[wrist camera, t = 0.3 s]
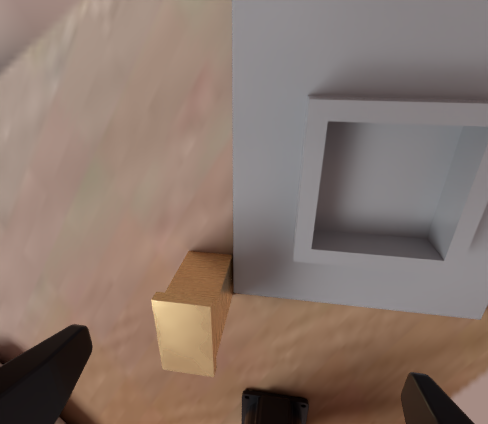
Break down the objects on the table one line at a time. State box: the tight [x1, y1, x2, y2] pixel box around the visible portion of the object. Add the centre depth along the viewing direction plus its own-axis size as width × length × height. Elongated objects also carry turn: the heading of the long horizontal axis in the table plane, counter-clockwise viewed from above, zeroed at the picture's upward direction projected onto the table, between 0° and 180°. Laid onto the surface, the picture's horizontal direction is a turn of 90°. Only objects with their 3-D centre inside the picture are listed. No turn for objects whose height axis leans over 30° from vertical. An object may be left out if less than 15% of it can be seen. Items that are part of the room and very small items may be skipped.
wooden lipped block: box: [151, 251, 233, 377], centre depth 21 cm, size 6×4×7 cm, turn 179°
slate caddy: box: [232, 0, 488, 320], centre depth 17 cm, size 20×18×3 cm
